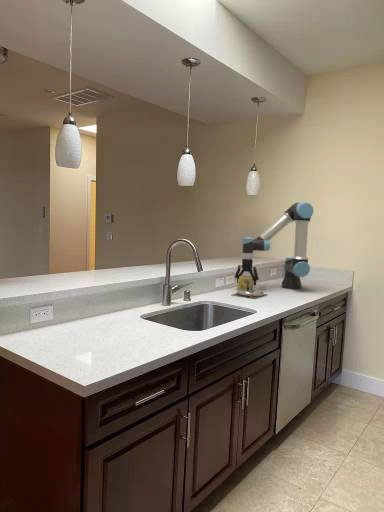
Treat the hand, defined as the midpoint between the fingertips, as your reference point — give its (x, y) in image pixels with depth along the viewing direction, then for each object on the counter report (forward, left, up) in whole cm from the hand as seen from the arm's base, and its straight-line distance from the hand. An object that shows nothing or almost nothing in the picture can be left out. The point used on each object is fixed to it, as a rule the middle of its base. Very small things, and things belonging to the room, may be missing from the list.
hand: (246, 288), depth 282 cm
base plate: (+15, +11, -1) cm, 19 cm away
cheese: (0, 0, -1) cm, 1 cm away
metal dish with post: (+15, +11, -1) cm, 19 cm away
